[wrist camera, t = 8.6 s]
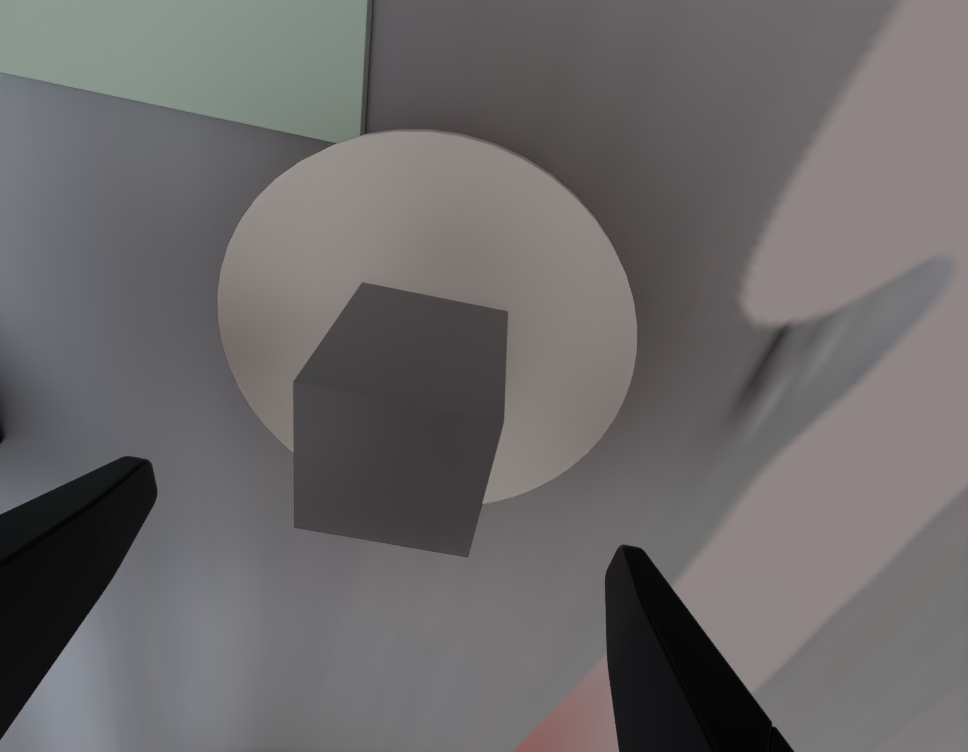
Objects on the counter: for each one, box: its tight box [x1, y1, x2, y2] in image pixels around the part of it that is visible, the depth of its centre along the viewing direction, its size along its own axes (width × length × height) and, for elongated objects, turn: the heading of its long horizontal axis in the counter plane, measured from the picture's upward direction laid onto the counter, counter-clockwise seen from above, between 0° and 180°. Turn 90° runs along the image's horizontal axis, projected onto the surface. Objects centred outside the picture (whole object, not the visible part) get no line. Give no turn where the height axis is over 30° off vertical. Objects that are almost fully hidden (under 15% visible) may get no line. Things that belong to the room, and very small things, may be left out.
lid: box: [217, 129, 637, 557], centre depth 13 cm, size 12×12×6 cm
